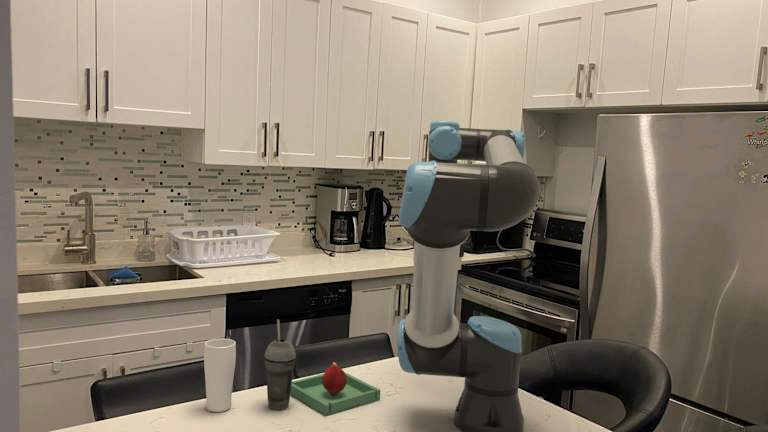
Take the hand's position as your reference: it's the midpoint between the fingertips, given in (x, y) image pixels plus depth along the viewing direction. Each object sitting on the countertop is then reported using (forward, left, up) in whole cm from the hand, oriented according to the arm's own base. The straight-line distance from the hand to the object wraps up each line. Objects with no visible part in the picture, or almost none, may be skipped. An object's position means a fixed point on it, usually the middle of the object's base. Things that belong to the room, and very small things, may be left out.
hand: (436, 265), depth 155 cm
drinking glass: (+15, +52, -31) cm, 62 cm away
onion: (+6, +27, -30) cm, 41 cm away
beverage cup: (+8, +41, -31) cm, 52 cm away
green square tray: (+6, +27, -31) cm, 41 cm away
